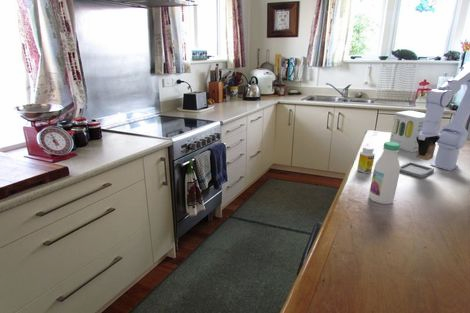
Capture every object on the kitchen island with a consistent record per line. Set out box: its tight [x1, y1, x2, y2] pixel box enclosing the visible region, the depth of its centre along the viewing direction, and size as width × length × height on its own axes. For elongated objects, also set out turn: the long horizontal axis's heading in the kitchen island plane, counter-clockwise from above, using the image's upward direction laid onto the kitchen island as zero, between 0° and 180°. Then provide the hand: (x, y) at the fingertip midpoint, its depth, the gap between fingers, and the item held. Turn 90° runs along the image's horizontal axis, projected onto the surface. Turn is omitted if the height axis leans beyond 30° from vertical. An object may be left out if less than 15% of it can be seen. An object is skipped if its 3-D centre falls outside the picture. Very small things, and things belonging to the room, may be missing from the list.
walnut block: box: [415, 143, 437, 162], centre depth 127 cm, size 4×4×6 cm
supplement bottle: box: [356, 145, 376, 174], centre depth 130 cm, size 6×6×10 cm
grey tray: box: [400, 161, 435, 180], centre depth 132 cm, size 12×10×2 cm
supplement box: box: [389, 110, 426, 153], centre depth 161 cm, size 13×13×18 cm
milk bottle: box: [368, 141, 401, 205], centre depth 104 cm, size 8×8×20 cm
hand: (424, 154), depth 128 cm, fingers closed on walnut block, 4 cm apart
